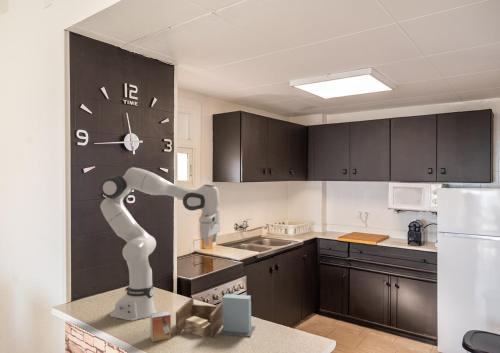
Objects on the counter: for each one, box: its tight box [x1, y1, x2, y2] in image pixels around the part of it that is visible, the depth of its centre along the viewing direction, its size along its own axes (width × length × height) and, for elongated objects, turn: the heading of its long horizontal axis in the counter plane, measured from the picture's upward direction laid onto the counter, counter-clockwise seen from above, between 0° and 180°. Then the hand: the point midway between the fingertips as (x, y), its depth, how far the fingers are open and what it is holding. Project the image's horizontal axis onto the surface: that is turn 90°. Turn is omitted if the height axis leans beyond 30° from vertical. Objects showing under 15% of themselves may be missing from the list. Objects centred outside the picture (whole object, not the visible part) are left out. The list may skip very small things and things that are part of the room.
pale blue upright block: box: [221, 293, 252, 333], centre depth 164 cm, size 12×4×15 cm, turn 77°
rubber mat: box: [218, 325, 256, 338], centre depth 164 cm, size 14×10×1 cm
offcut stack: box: [183, 316, 211, 337], centre depth 164 cm, size 11×6×5 cm, turn 60°
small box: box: [149, 310, 172, 343], centre depth 158 cm, size 8×6×10 cm
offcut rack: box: [175, 297, 223, 339], centre depth 167 cm, size 17×18×10 cm
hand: (211, 243), depth 185 cm, fingers open, 8 cm apart
